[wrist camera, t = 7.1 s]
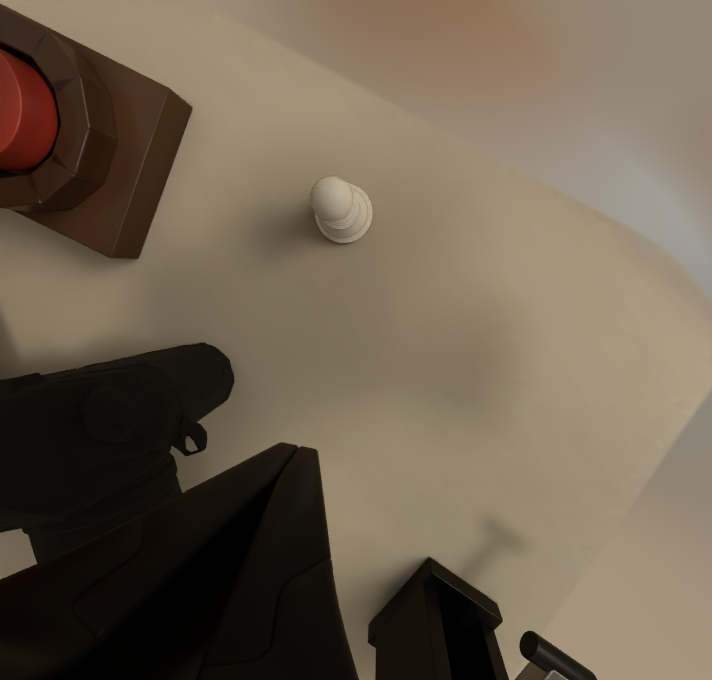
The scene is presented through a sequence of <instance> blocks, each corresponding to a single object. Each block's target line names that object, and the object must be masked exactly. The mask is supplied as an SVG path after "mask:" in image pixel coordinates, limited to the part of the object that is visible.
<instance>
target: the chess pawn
mask: <svg viewBox="0 0 712 680" xmlns="http://www.w3.org/2000/svg"><path fill="white" fill-rule="evenodd" d="M310 203H311V207H312V209H313V211H314V212H315V218H316V223H317V225H318V227H319V229H320V231H321V232H322V233H323V234H324V235H325V236H326V237H327V238H329V239H330V240H332V241H335V242H338V243H349V242H353V241H355V240H358V239H359V238H361V237H362V236H363V235H364V234H365V233H366V232H367V230H368V229H369V227H370V224H371V221H372V213H373V210H372V205H371V202H370V200H369V198H368V196H367V195H366V193H365V192H364V191H363V190H362V189H360V188H359V187H357V186H355V185H353V184H349V183H347V182H346V181H344V180H343V179H341V178H339V177H336V176H326V177H323V178H321V179H320V180H318V181H317V182H316V183H315V184H314V186H313V188H312V190H311V193H310Z"/></svg>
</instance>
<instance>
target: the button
mask: <svg viewBox="0 0 712 680" xmlns="http://www.w3.org/2000/svg"><path fill="white" fill-rule="evenodd" d="M57 128H58V115H57V108H56V104H55V101H54V98H53V95H52V93H51V91H50V89H49V87H48V86H47V84H46V83H45V81H44V80H43V78H42V77H41V76H40V75H39V74H38V73H37V72H36V71H35V70H34V69H33V68H32V67H31V66H29V65H28V64H27V63H25V62H23V61H22V60H20V59H18V58H16V57H15V56H13V55H11V54H9V53H8V52H6V51H4V50H2V49H0V169H1V170H6V171H21V170H25V169H28V168H31V167H33V166H35V165H37V164H38V163H39V162H41V161H42V160H43V159H44V158H45V157H46V156H47V154H48V153H49V152H50V150H51V148H52V146H53V144H54V141H55V139H56V134H57Z"/></svg>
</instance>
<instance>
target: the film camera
mask: <svg viewBox="0 0 712 680" xmlns="http://www.w3.org/2000/svg"><path fill="white" fill-rule="evenodd" d="M233 384H234V375H233V371H232V368H231V365H230V360H229V359H228V358H227V357H226V356H225V355H224V354H223V353H222V352H221V351H220V350H219V349H217V348H216V347H214V346H212V345H208V344H206V343H205V342H204V343H198V344H192V345H183V346H178V347H174V348H169V349H164V350H158V351H152V352H147V353H143V354H140V355H136V356H132V357H127V358H121V359H117V360H113V361H109V362H103V363H96V364H91V365H87V366H84V367H81V368H79V369H71V370H66V371H61V372H56V373H51V374H46V375H41V374H39V373H33V374H29V375H24V376H20V377H16V378H10V379H5V380H0V533H1V532H5V531H10V530H15V529H20V528H22V530H23V532H24V533H26V534H28V536H29V538H30V542H31V545H32V548H33V552H34V555H35V558H36V561H37V563H40V562H43V561H45V560H47V559H50V558H52V557H54V556H56V555H59V554H61V553H63V552H65V551H67V550H70V549H72V548H74V547H76V546H78V545H81V544H83V543H85V542H87V541H90V540H92V539H94V538H96V537H98V536H100V535H102V534H104V533H106V532H108V531H110V530H112V529H114V528H116V527H118V526H120V525H122V524H124V523H126V522H128V521H130V520H132V519H134V518H135V517H137V516H139V515H144V517H145V513H146V512H147V511H149V510H151V509H153V508H155V507H157V506H159V505H161V504H163V503H165V502H166V501H168V500H170V499H172V498H174V497H176V496H178V495H180V494H182V491H181V488H180V486H179V483H178V479H177V476H176V473H177V466H176V462H175V459H174V457H173V456H172V455H171V453H170V452H169V451H170V449H171V446H174V447H175V448H177V449H178V450H180V451H181V452H182V453H183V454H184V455H185V456H189V455H192V454H195V453H198V452H201V451H203V450H204V449H205V448H206V445H207V433H206V431H205V429H204V428H203V427H202V426H201V424H199V423H196V422H197V421H199V420H200V419H202V418H203V417H204V416H206V415H207V414H208V413H210V412H211V411H213V410H214V409H215V408H217V407H218V406H220V405H221V404H223V403H224V402H225V401H226V400H227V399H228V398H229V395H230V393H231V390H232V387H233ZM187 436H190V437H191V439H192V440H193V441H194V443H195V444H196V446H197V448H198V450H196V451H193V452H190V451H188V450H187V449H186V444H185V439H186V437H187Z"/></svg>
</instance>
